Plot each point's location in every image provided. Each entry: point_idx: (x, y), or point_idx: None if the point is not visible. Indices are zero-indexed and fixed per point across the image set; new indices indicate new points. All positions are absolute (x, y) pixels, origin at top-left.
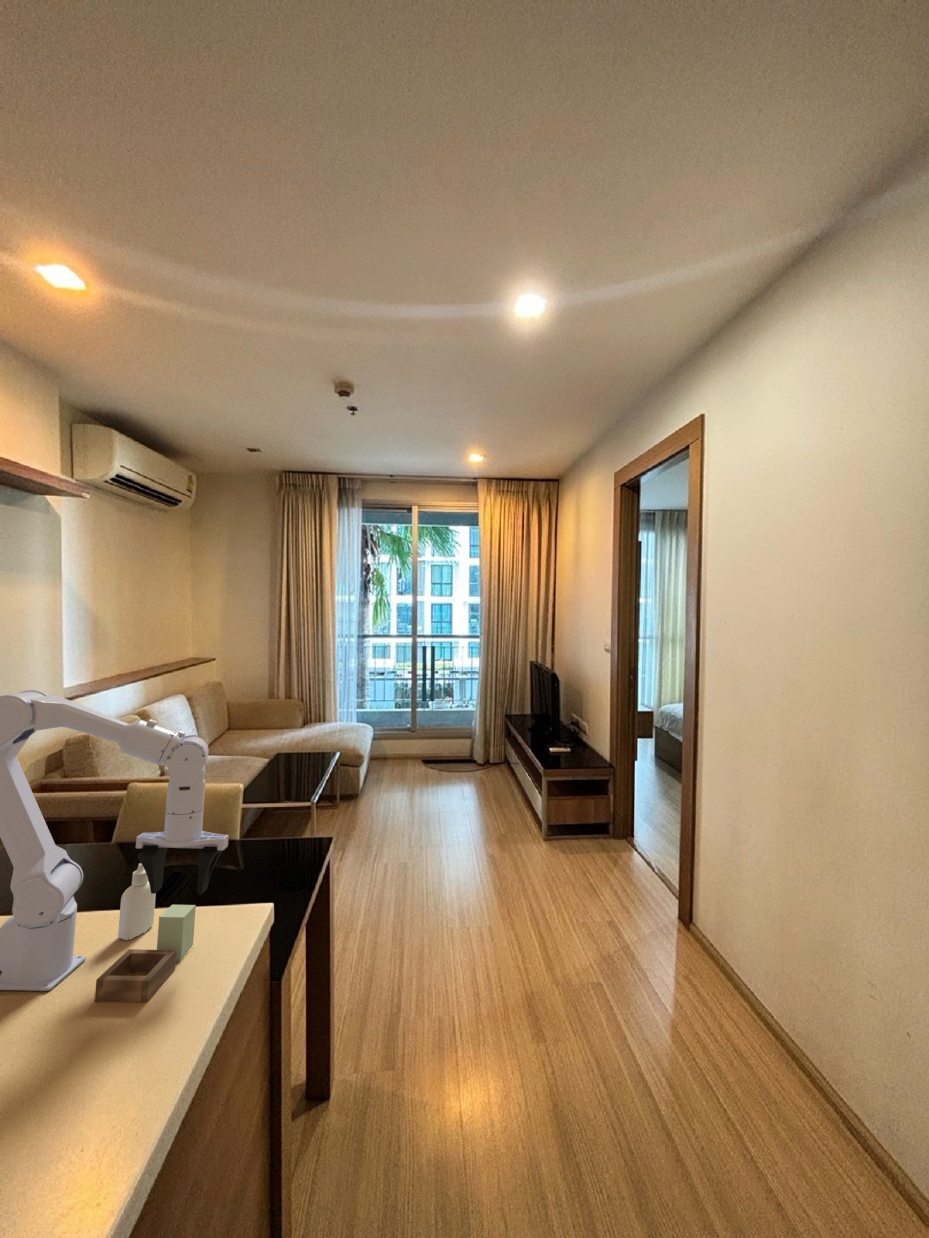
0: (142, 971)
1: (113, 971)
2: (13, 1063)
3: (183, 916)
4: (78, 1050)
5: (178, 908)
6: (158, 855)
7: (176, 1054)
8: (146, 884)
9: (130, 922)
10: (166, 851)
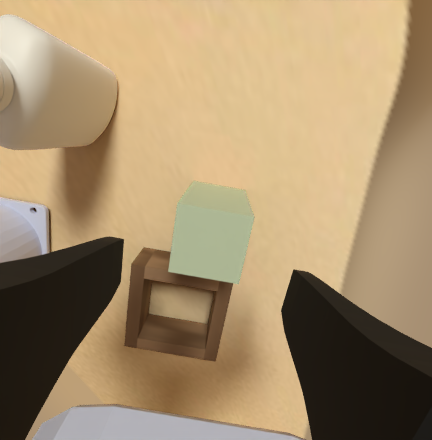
0: None
1: (139, 323)
2: (106, 403)
3: (236, 278)
4: (168, 398)
5: (206, 231)
6: (1, 409)
7: (286, 421)
8: (19, 85)
9: (71, 144)
10: (4, 295)
